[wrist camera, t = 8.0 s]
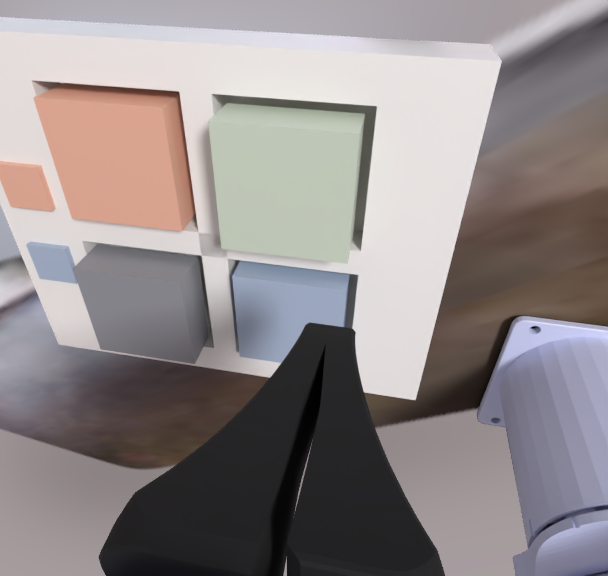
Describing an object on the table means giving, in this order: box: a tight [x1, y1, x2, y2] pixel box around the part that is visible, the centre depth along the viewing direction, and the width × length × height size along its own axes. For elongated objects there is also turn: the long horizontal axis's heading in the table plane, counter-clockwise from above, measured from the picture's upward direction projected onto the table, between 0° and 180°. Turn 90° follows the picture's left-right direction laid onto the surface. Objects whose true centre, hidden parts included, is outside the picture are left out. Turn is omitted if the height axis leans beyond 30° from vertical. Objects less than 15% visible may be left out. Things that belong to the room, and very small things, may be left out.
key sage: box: [208, 103, 365, 264], centre depth 17 cm, size 5×5×2 cm
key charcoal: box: [73, 245, 209, 364], centre depth 23 cm, size 5×5×2 cm
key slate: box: [232, 260, 350, 363], centre depth 22 cm, size 5×5×2 cm
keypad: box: [0, 17, 502, 400], centre depth 21 cm, size 20×16×3 cm
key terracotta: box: [33, 83, 196, 231], centre depth 19 cm, size 5×5×2 cm
